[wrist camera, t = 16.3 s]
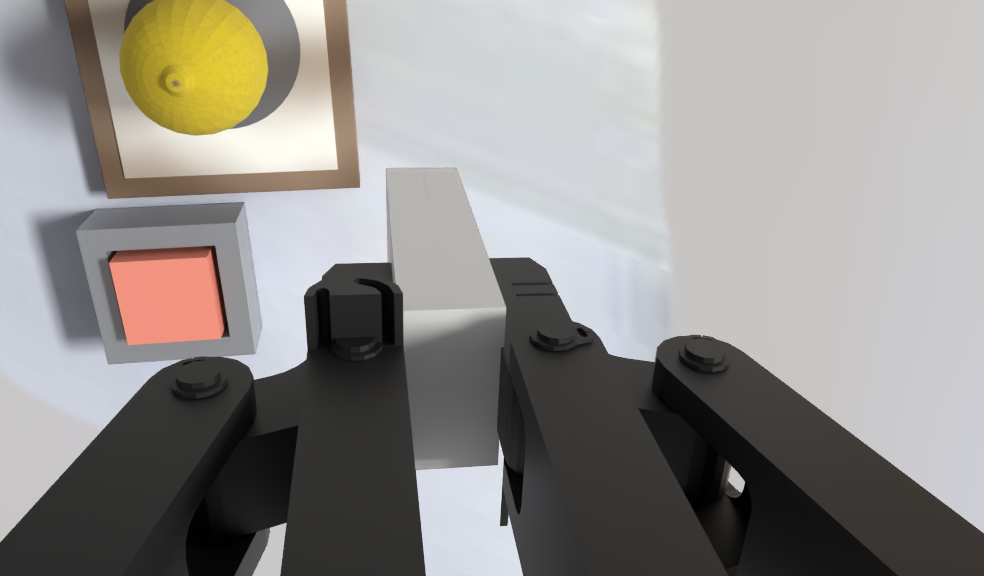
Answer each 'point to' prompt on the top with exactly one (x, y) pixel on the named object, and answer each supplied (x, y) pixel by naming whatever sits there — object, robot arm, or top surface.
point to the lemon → (193, 65)
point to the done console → (173, 230)
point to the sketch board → (251, 143)
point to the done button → (169, 294)
